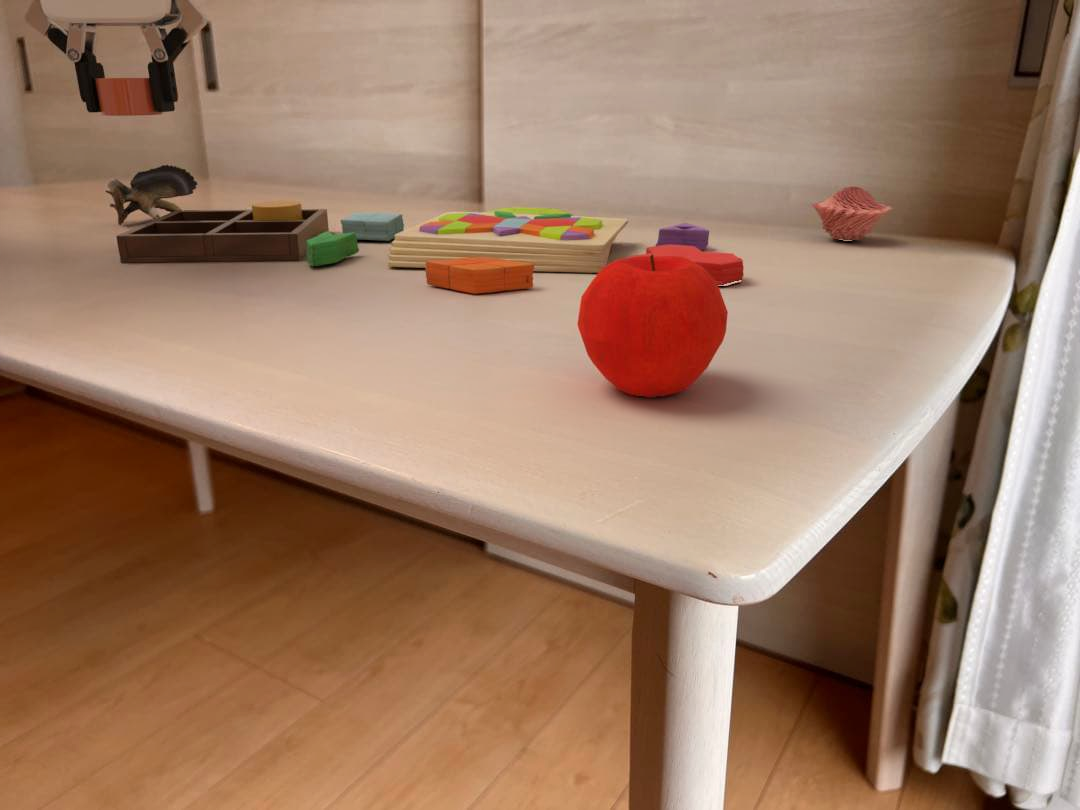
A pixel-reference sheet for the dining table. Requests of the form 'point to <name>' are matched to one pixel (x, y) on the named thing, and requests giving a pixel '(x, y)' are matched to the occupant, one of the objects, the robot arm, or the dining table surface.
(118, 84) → the cylinder
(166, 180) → the bracket fungus on branch
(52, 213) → the dining table surface
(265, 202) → the mustard yellow cylinder
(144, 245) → the grid
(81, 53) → the robot arm
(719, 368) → the dining table surface
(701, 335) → the apple
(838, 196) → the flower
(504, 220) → the pattern blocks set
